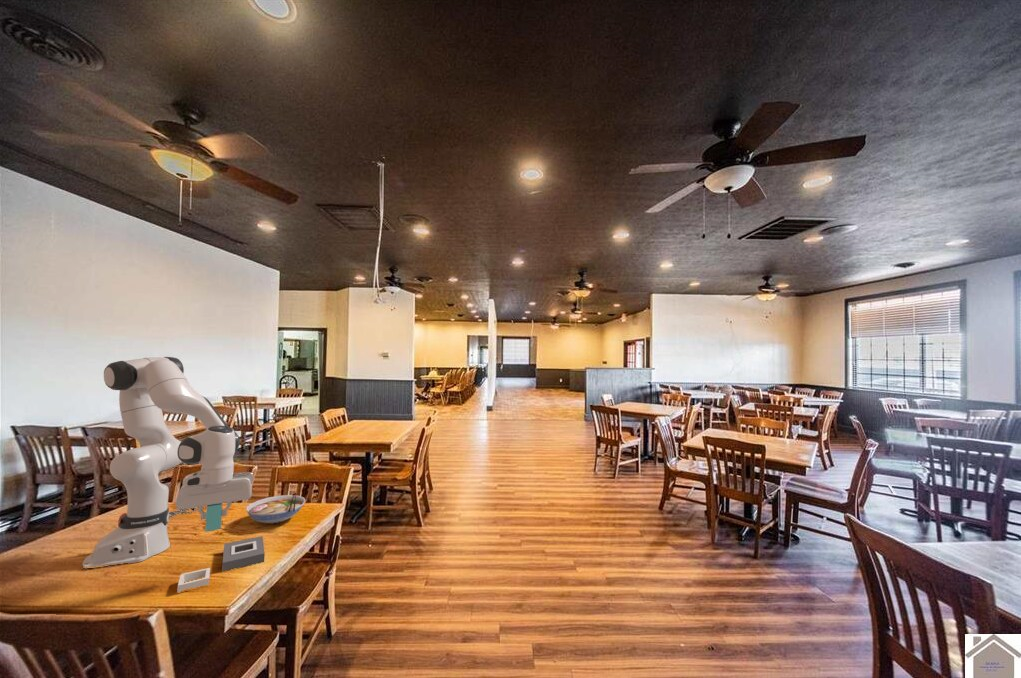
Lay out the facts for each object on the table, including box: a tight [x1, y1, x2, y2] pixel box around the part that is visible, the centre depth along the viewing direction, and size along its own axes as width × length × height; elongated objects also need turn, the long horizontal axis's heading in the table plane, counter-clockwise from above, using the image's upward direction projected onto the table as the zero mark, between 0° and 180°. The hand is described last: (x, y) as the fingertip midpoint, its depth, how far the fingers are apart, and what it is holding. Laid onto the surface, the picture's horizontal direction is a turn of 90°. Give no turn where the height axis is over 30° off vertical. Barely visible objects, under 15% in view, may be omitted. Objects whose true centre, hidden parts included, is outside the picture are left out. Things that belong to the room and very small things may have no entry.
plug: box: [204, 503, 223, 533], centre depth 128 cm, size 4×4×8 cm
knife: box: [169, 507, 198, 519], centre depth 167 cm, size 28×2×10 cm
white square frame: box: [176, 567, 211, 594], centre depth 122 cm, size 8×8×2 cm
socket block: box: [221, 535, 266, 572], centre depth 139 cm, size 12×16×3 cm
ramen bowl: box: [245, 492, 306, 525], centre depth 170 cm, size 25×23×8 cm
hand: (214, 517), depth 128 cm, fingers closed on plug, 4 cm apart
